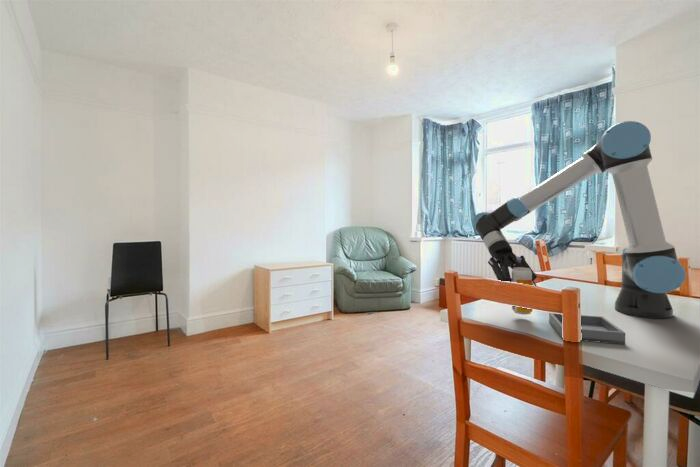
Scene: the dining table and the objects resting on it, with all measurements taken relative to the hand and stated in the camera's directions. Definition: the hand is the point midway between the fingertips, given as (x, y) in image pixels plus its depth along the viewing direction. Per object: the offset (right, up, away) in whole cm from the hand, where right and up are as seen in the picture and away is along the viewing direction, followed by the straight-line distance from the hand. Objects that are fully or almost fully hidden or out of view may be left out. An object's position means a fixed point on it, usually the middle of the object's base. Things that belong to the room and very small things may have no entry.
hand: (529, 299), depth 105 cm
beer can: (0, -5, +4) cm, 7 cm away
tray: (+11, -8, -10) cm, 16 cm away
